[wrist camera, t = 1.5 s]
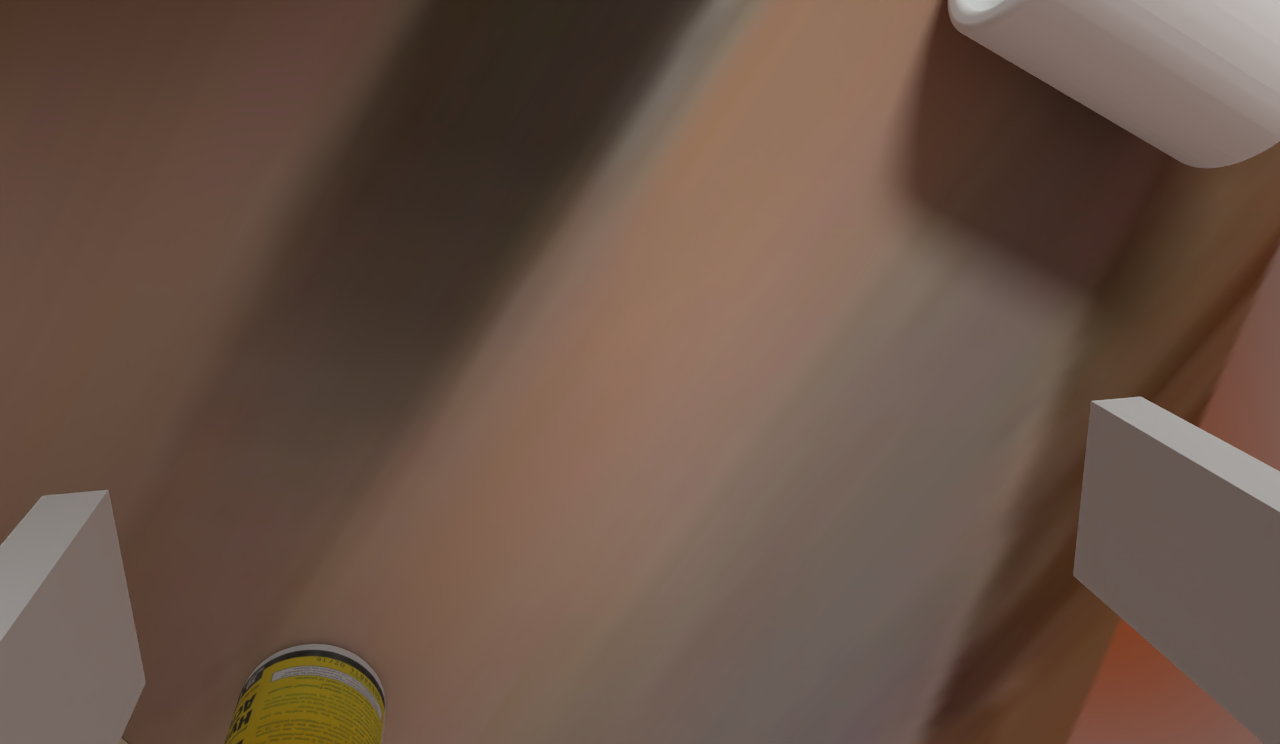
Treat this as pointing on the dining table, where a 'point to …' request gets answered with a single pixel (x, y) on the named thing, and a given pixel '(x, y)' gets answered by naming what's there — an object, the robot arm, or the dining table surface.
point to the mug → (1150, 65)
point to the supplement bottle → (310, 700)
